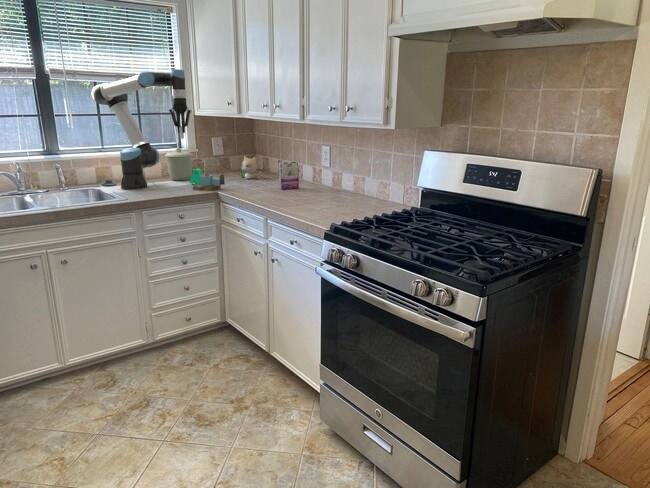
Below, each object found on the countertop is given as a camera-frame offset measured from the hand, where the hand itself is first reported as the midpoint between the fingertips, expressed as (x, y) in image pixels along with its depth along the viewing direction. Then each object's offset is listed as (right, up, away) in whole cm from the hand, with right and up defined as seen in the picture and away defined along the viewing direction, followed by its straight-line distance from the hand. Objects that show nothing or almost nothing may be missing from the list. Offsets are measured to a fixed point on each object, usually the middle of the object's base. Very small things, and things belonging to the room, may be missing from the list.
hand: (182, 138), depth 289 cm
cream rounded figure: (+34, -19, +38) cm, 55 cm away
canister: (-11, -20, +33) cm, 40 cm away
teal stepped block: (+18, -28, +2) cm, 33 cm away
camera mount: (+7, -26, +17) cm, 32 cm away
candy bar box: (+64, -30, +5) cm, 71 cm away
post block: (+14, -30, +3) cm, 33 cm away
